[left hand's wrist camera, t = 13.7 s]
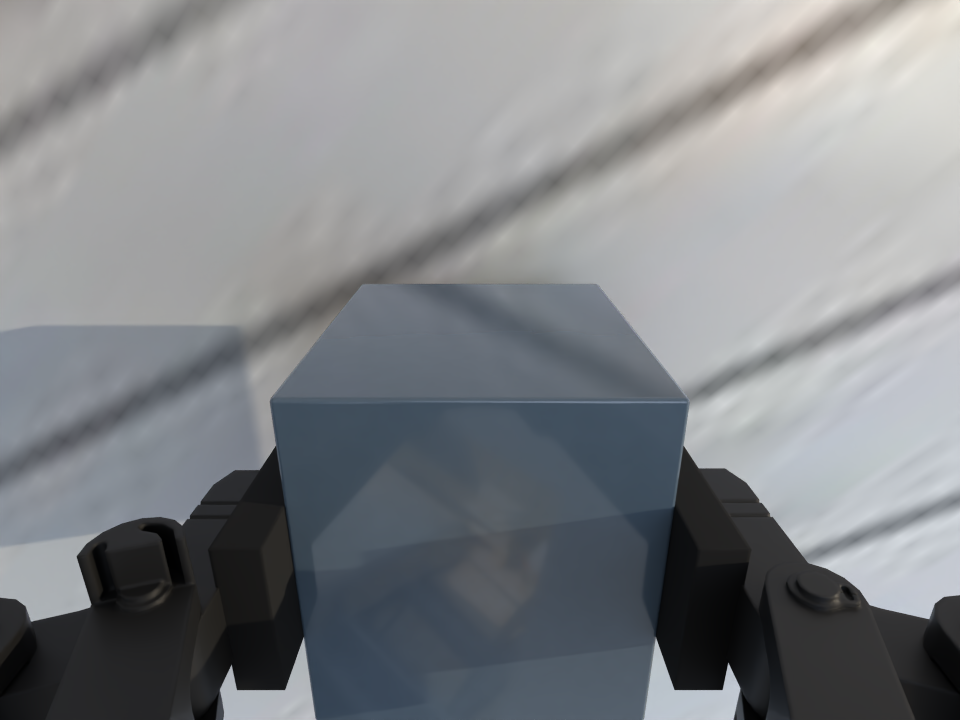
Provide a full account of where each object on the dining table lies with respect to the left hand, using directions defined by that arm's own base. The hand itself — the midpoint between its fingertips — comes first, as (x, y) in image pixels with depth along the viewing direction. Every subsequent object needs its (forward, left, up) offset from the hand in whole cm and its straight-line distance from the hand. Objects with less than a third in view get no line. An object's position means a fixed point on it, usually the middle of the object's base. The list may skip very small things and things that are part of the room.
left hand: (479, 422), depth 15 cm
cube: (0, 0, -2) cm, 2 cm away
